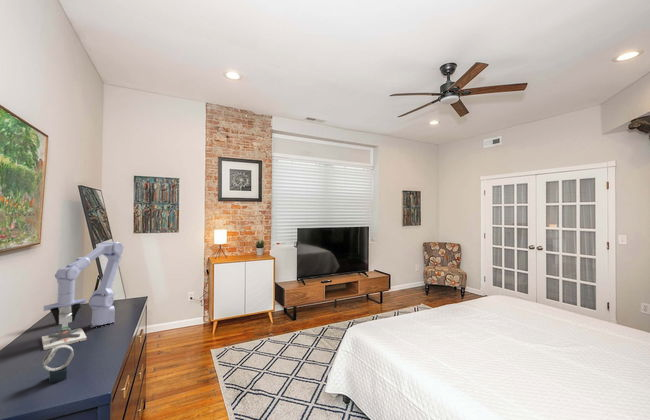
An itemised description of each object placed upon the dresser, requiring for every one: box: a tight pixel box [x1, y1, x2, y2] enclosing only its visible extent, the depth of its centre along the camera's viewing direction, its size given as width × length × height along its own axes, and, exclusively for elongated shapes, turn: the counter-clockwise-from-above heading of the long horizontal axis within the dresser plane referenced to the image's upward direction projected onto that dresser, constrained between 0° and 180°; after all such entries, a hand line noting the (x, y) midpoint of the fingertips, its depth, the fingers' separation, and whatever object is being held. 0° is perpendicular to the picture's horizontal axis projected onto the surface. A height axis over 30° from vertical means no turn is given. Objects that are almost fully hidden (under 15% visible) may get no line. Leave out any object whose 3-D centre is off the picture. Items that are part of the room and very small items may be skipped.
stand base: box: [41, 327, 88, 351], centre depth 129 cm, size 14×16×4 cm
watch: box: [41, 344, 75, 385], centre depth 98 cm, size 6×8×11 cm
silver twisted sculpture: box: [59, 291, 76, 316], centre depth 151 cm, size 6×7×20 cm
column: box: [58, 314, 73, 330], centre depth 129 cm, size 4×4×6 cm
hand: (65, 322), depth 129 cm, fingers closed on column, 5 cm apart
